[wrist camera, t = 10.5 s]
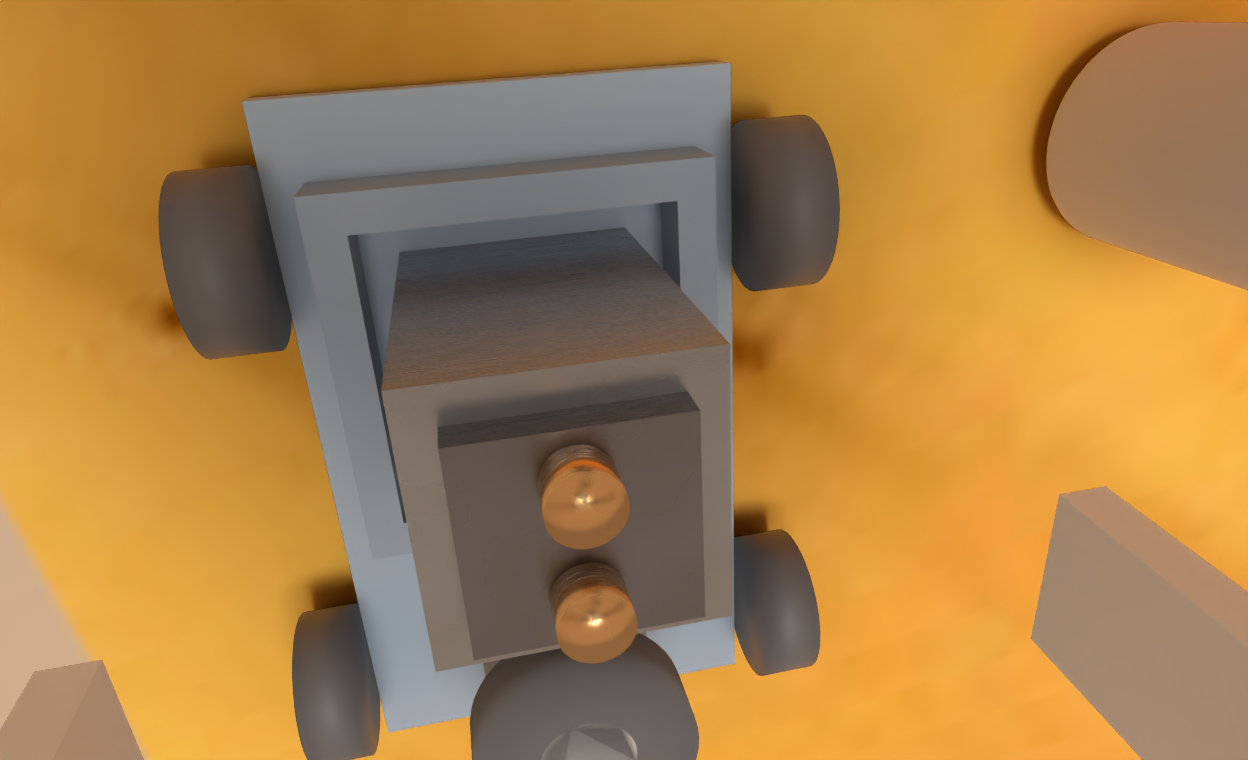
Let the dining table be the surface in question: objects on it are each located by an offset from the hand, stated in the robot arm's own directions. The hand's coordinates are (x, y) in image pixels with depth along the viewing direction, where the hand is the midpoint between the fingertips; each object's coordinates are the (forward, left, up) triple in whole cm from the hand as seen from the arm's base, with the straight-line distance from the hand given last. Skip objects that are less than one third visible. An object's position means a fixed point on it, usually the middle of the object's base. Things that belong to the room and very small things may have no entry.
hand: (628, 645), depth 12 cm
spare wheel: (+10, 0, -11) cm, 15 cm away
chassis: (+3, 0, -14) cm, 14 cm away
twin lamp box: (0, 0, -13) cm, 13 cm away
